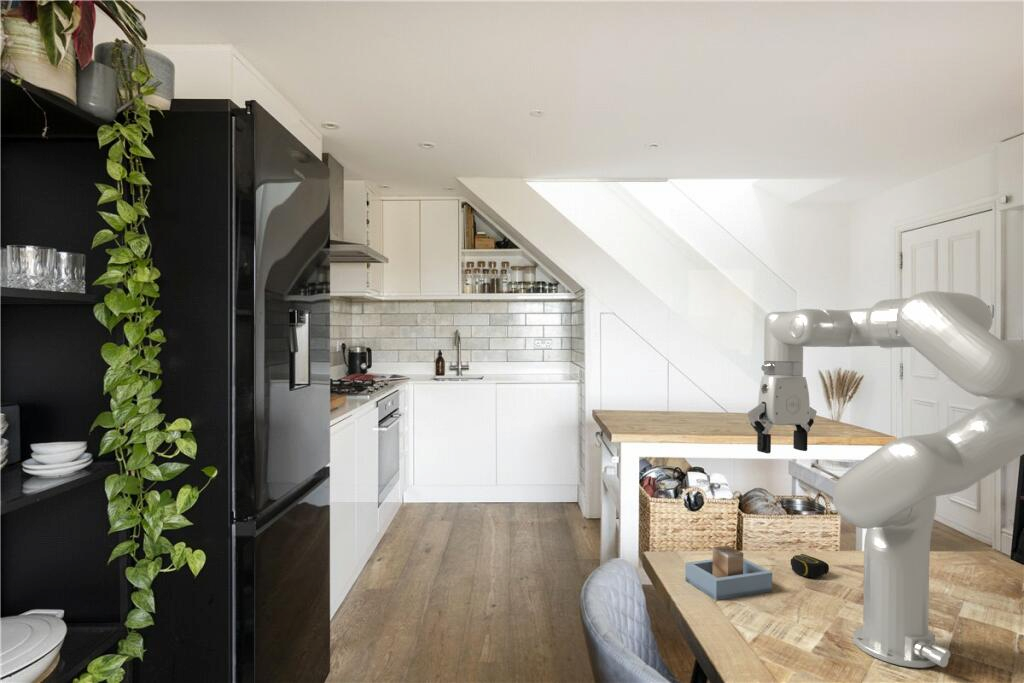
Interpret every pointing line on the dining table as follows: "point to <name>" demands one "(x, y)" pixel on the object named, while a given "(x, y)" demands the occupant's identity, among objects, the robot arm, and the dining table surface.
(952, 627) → the dining table surface
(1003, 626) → the dining table surface
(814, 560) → the tape measure
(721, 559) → the wooden rectangular block
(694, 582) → the container
